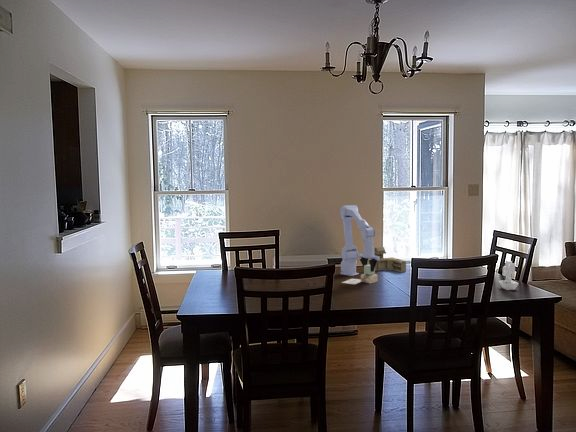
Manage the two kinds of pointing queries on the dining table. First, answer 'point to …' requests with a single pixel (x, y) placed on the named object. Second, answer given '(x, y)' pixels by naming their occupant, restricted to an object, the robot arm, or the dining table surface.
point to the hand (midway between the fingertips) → (368, 270)
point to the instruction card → (352, 281)
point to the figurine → (508, 276)
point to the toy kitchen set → (388, 261)
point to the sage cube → (368, 270)
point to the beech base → (369, 278)
